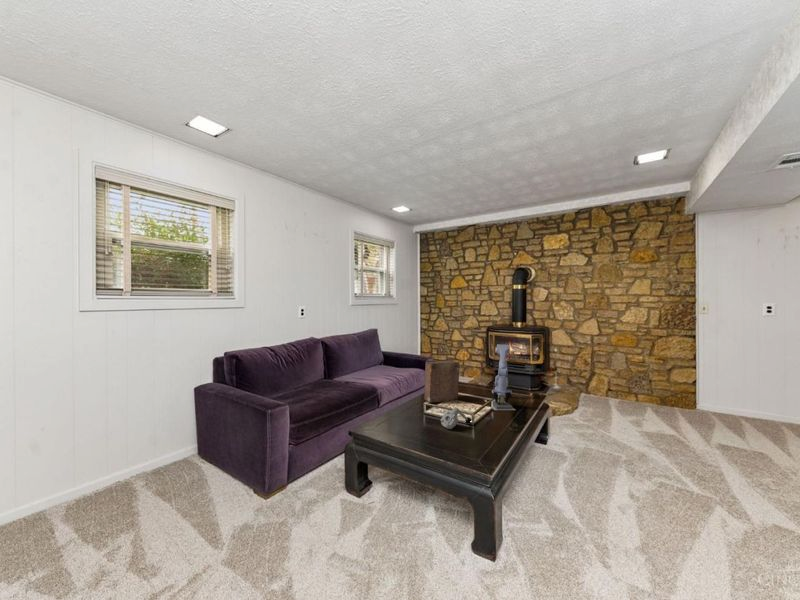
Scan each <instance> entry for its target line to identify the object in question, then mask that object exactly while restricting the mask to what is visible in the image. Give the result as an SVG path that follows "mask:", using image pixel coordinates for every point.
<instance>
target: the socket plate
mask: <svg viewBox="0 0 800 600" xmlns="http://www.w3.org/2000/svg"><path fill="white" fill-rule="evenodd" d="M487 400H488V399H483V401H484V402H485V403H486V402H487ZM492 400H493V408H492V409H493V410H494V411H516V409H515V408H514V407H513V406H512V405H511V404H509V403H508V402H507V403H506V402H505V400H504V405H498V403H499V399H498V402H497V403H496V402H495V399H492Z"/></svg>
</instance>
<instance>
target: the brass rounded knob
mask: <svg viewBox="0 0 800 600" xmlns="http://www.w3.org/2000/svg"><path fill="white" fill-rule="evenodd" d="M504 397H505V396H504V395H499V398H498V400H499V403H498V405H504V401H505V398H504Z"/></svg>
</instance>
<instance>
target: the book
mask: <svg viewBox="0 0 800 600" xmlns="http://www.w3.org/2000/svg"><path fill="white" fill-rule="evenodd" d="M424 370H425V371H424V372H425V373H424V394H423V396H424V397H423V398H424V399H423V400H425V401H426V402H427V403H429V402H431V403H430V404H436V403H443V402H444V403H445V402H451V401H458V400H459V388H460V387H459V385H460V384H459V381H460V361H454V359H442V360H440V359H439V360H427V361H425V368H424Z"/></svg>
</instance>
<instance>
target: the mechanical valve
mask: <svg viewBox="0 0 800 600" xmlns="http://www.w3.org/2000/svg"><path fill="white" fill-rule="evenodd" d="M458 415H460V416H461V417H462V418H463V419H464V422H465V421H466V422H465V424H467V423H470V421H471V420H472V418H471V417H467V416H466V415H465V414H464V413H463V412H461V411H460V409H459V408H458V407H457V406H454V407H453V408H452V410H447V411H446V412H445V413H444V414H443V415H442V417H441V419H440V423H441V425H442V426H443V427H444V428H445V429H447V430H452V429H453V428H455V427H456V425H457V424H458V421H459V418H458Z"/></svg>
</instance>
